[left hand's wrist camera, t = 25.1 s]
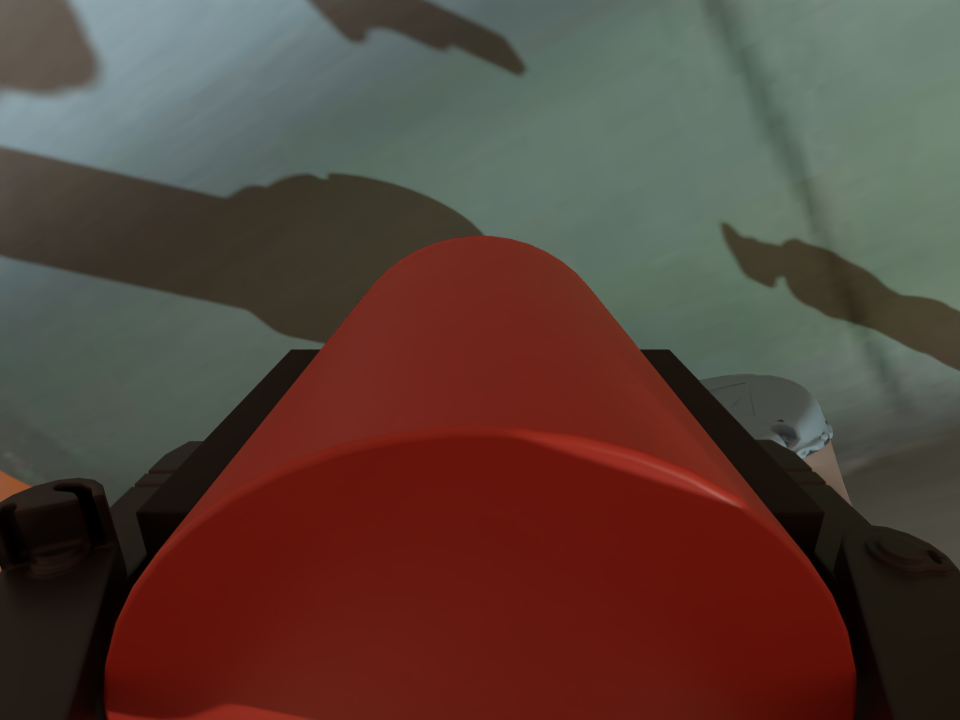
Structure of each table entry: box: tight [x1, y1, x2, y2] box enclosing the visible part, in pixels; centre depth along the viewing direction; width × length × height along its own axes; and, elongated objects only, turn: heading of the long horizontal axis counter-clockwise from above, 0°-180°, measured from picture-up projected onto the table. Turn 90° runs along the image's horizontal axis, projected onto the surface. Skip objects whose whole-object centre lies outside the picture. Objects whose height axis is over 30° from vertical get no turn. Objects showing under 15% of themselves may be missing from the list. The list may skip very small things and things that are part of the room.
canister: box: [103, 236, 857, 720], centre depth 11 cm, size 8×8×11 cm
